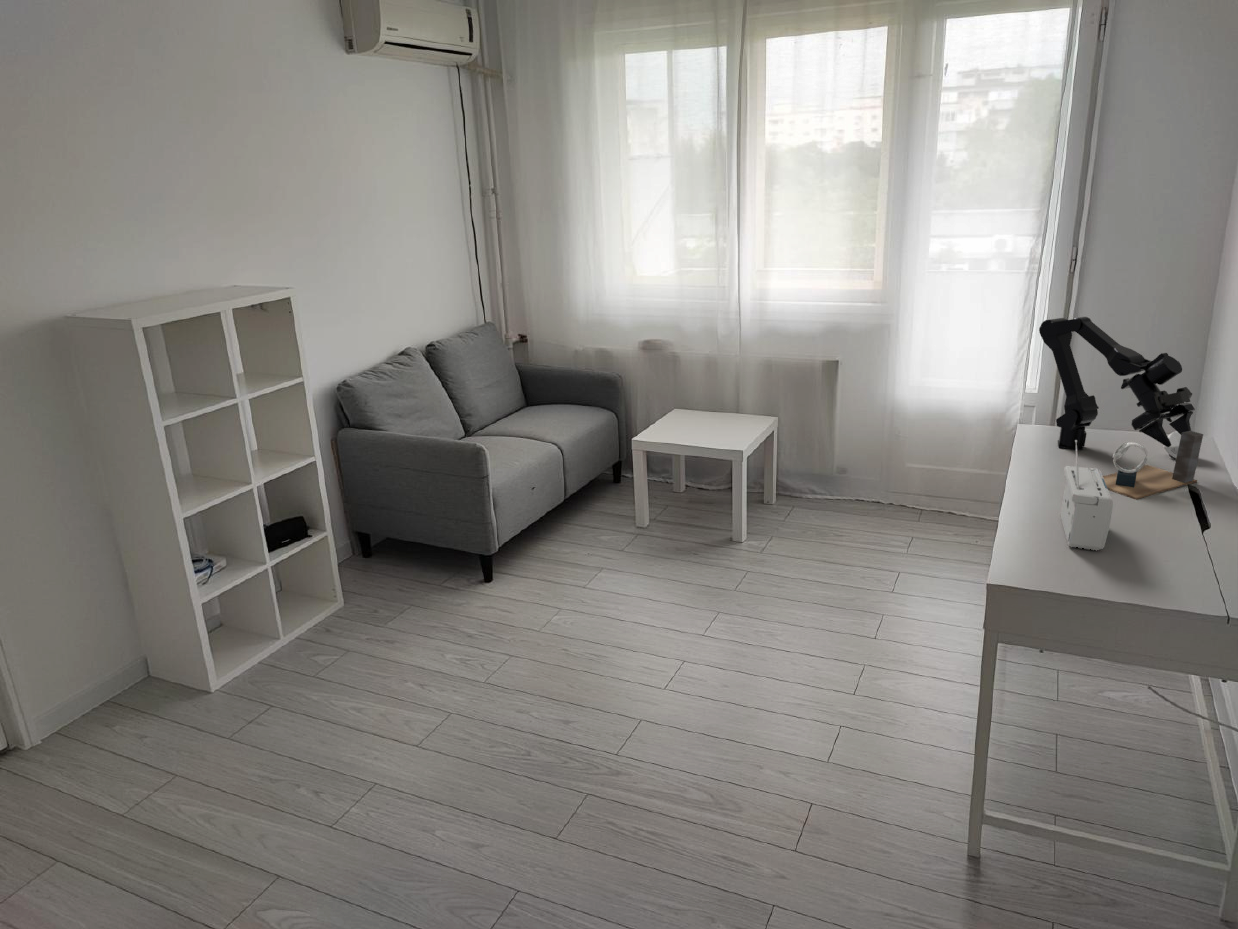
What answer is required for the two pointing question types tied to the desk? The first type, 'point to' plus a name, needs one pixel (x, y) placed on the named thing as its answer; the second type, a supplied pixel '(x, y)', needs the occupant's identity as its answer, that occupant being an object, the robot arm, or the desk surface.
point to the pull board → (1163, 471)
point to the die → (1173, 444)
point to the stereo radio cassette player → (1085, 507)
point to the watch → (1126, 475)
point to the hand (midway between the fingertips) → (1180, 443)
